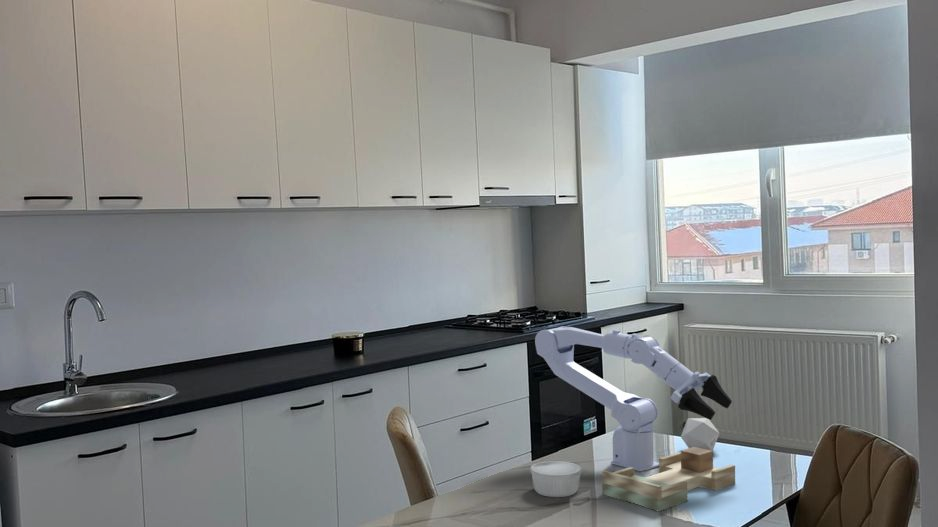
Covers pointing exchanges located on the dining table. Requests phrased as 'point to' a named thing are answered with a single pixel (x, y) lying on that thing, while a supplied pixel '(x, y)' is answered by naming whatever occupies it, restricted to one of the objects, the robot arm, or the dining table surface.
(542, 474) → the ramekin
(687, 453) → the walnut block
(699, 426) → the die
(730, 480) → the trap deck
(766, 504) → the dining table surface
